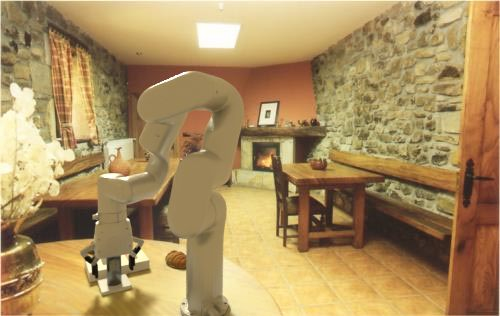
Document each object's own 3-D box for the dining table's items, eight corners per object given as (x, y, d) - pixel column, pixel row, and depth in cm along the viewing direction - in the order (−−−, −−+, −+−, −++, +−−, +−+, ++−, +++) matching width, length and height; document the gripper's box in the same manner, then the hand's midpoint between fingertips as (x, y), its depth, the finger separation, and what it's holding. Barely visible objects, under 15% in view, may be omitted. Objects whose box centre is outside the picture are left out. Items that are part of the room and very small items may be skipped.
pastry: (194, 265, 109) (194, 255, 109) (178, 272, 104) (178, 261, 104) (179, 257, 116) (179, 247, 115) (162, 263, 111) (162, 252, 110)
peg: (122, 283, 94) (122, 257, 93) (108, 287, 91) (107, 260, 91) (120, 278, 97) (119, 253, 96) (105, 281, 95) (105, 255, 94)
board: (149, 268, 106) (149, 259, 105) (89, 282, 96) (89, 271, 96) (140, 255, 116) (140, 246, 115) (84, 266, 106) (84, 257, 106)
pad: (131, 288, 93) (131, 285, 93) (101, 295, 89) (101, 292, 89) (125, 276, 100) (125, 273, 100) (97, 283, 95) (97, 280, 95)
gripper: (80, 224, 84) (82, 285, 86) (146, 215, 94) (147, 270, 95) (77, 217, 90) (79, 274, 92) (139, 209, 100) (140, 261, 102)
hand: (114, 272), depth 94 cm, fingers open, 9 cm apart
